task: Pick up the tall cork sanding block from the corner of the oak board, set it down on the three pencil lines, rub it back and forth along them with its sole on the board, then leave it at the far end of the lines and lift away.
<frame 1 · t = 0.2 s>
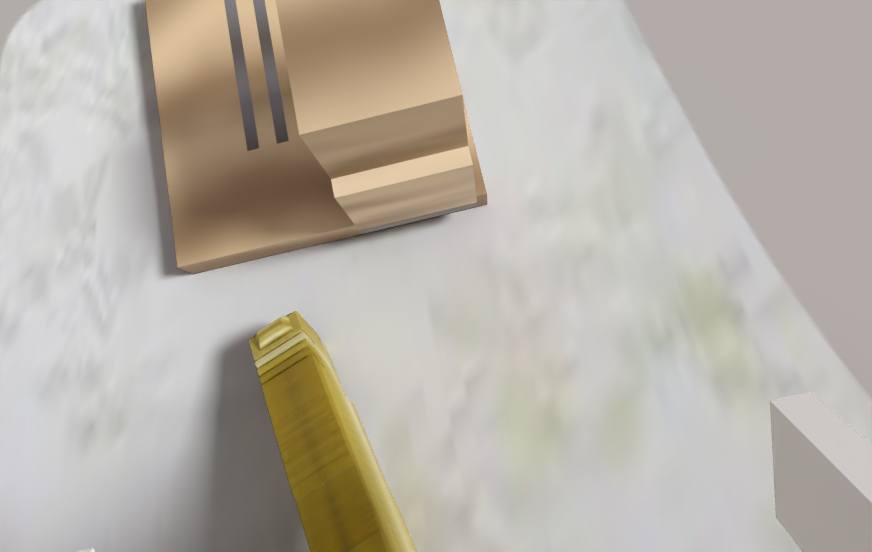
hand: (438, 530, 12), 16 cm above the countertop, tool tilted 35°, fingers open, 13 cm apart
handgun: (405, 533, 28), on the countertop
board: (311, 95, 33), on the countertop
sanding block: (402, 142, 30), point 1 cm above the countertop, touching board
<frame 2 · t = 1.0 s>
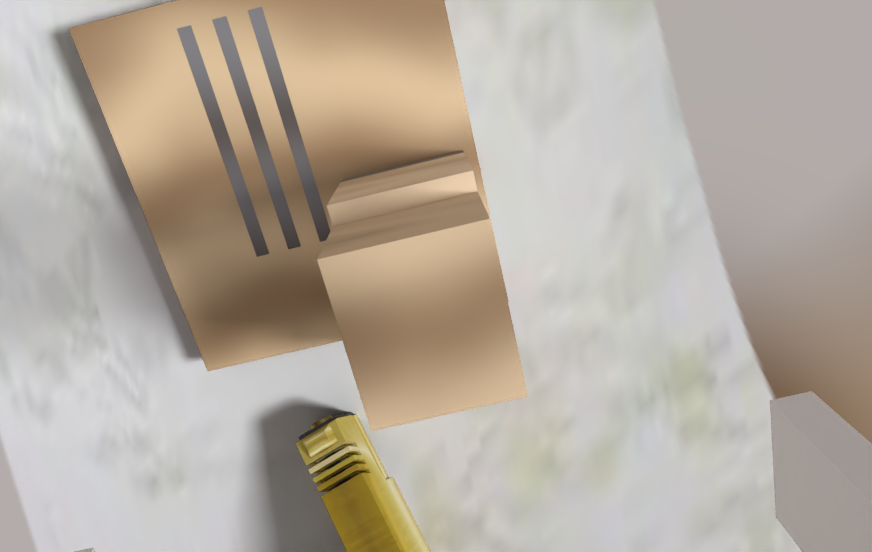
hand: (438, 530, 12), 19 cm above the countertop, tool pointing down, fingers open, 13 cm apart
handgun: (432, 532, 37), on the countertop
board: (311, 170, 29), on the countertop
sanding block: (423, 249, 29), point 1 cm above the countertop, touching board
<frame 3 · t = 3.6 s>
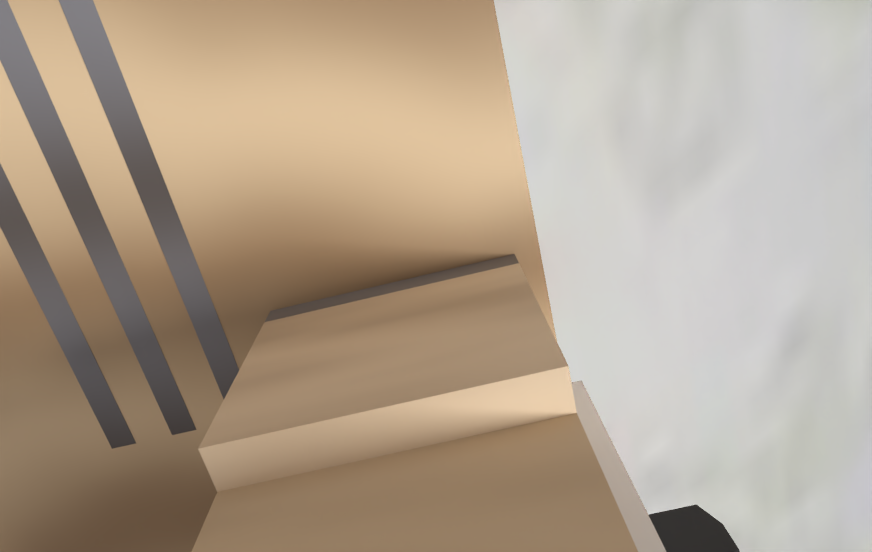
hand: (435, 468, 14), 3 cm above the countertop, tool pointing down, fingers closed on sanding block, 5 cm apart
board: (218, 280, 15), on the countertop
sanding block: (433, 433, 15), point 2 cm above the countertop, touching board, gripper
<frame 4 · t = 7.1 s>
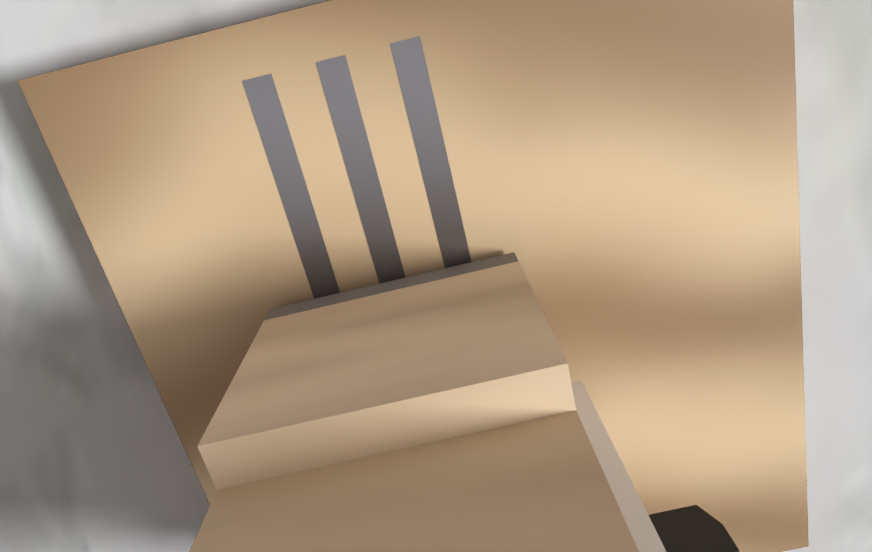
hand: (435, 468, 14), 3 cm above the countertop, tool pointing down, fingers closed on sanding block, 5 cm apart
board: (473, 324, 16), on the countertop
sanding block: (433, 431, 15), point 2 cm above the countertop, touching gripper
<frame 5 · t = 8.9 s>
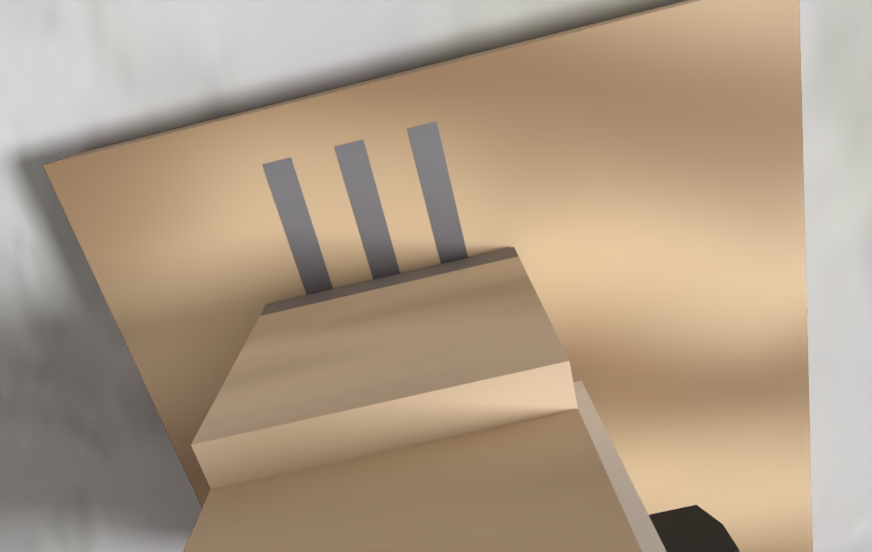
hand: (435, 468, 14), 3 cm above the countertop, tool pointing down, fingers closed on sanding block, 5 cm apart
board: (485, 384, 16), on the countertop
sanding block: (431, 428, 15), point 2 cm above the countertop, touching gripper
when the fingers open (3 cm above the countertop, at t = 10.7 s): sanding block stays where it is, resting on board.
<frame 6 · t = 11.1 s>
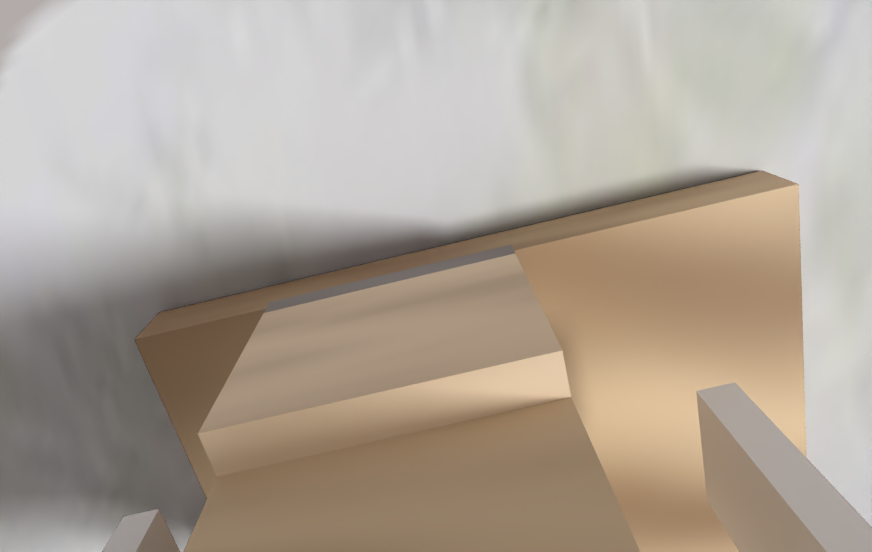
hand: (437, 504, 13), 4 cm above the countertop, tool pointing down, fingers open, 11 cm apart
board: (514, 501, 18), on the countertop
sanding block: (431, 423, 15), point 2 cm above the countertop, touching board
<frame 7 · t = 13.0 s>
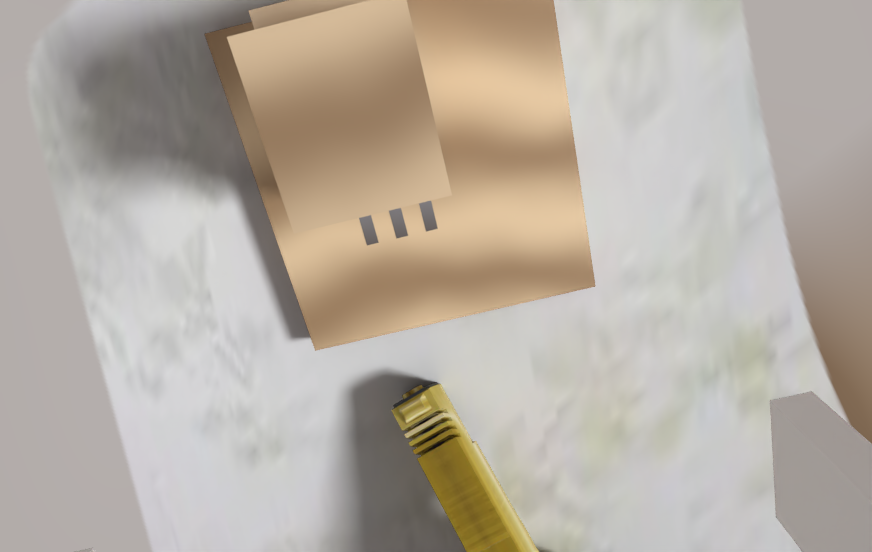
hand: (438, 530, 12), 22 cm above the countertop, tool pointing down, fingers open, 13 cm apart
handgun: (503, 491, 40), on the countertop
board: (416, 164, 31), on the countertop
sanding block: (363, 90, 28), point 2 cm above the countertop, touching board
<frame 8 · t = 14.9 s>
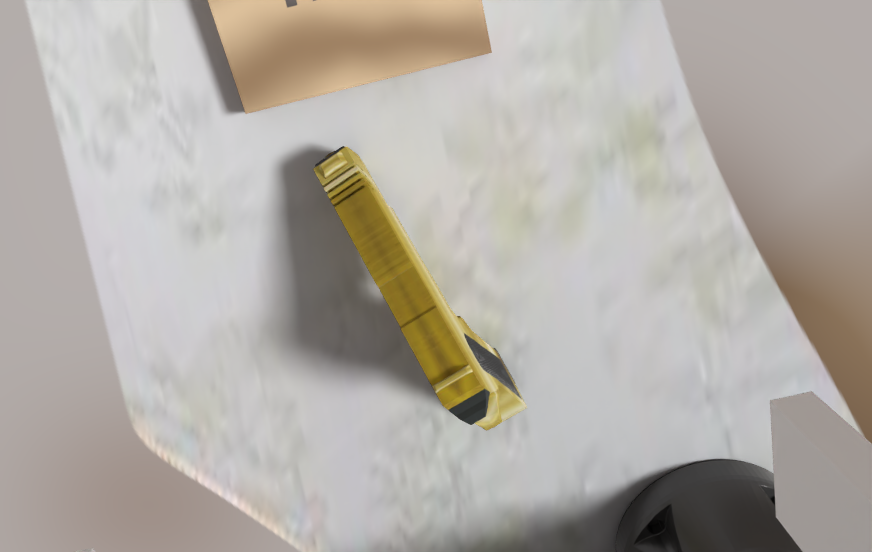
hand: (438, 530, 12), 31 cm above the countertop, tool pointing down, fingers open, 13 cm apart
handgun: (426, 278, 44), on the countertop
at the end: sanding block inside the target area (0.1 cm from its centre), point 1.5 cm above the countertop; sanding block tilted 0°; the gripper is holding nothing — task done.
